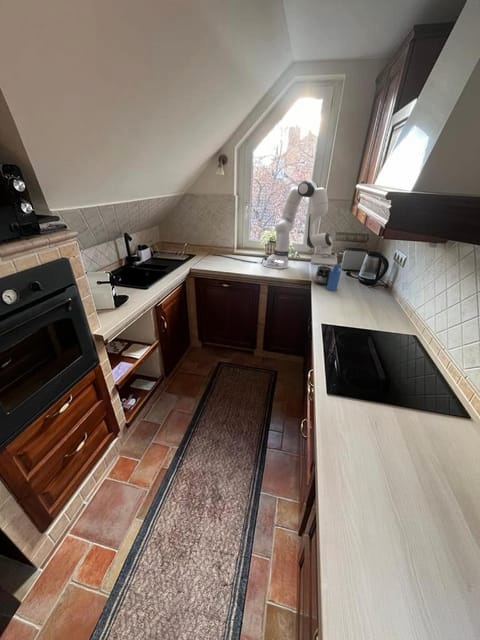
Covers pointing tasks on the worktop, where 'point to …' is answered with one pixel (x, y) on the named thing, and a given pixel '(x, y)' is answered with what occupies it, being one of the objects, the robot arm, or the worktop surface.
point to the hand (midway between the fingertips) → (322, 270)
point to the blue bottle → (334, 278)
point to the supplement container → (322, 275)
